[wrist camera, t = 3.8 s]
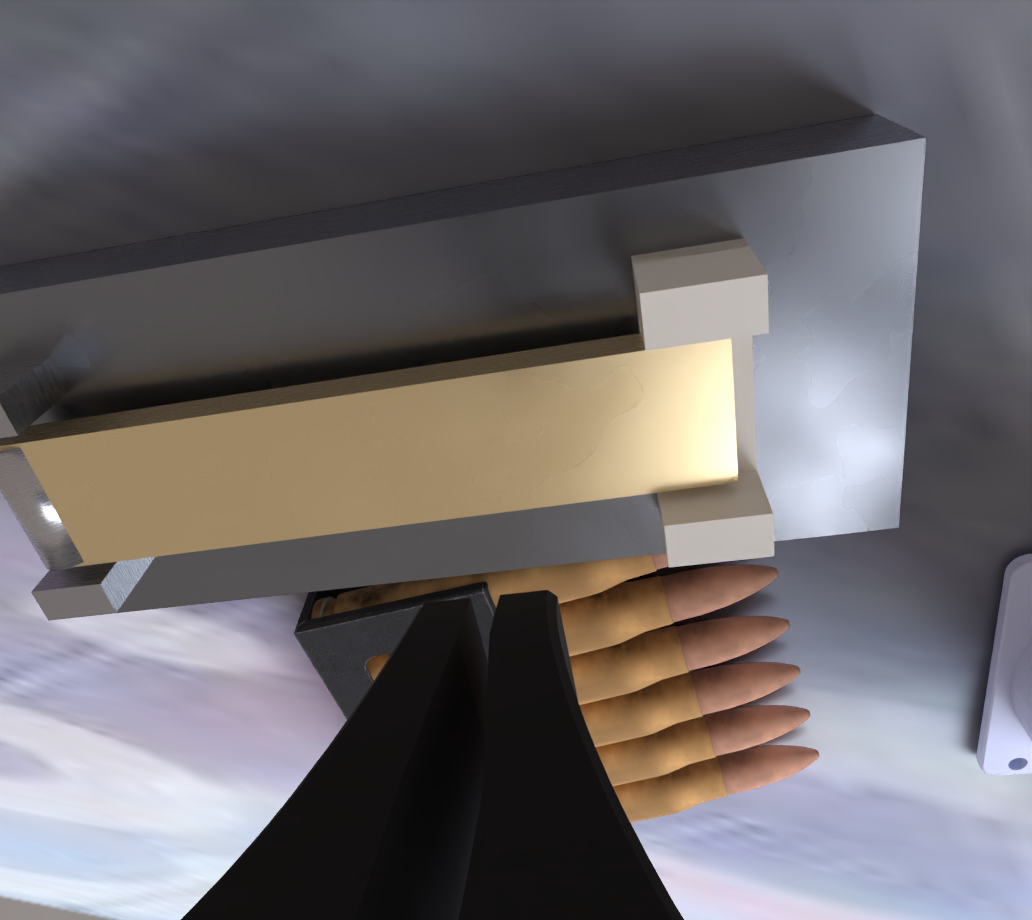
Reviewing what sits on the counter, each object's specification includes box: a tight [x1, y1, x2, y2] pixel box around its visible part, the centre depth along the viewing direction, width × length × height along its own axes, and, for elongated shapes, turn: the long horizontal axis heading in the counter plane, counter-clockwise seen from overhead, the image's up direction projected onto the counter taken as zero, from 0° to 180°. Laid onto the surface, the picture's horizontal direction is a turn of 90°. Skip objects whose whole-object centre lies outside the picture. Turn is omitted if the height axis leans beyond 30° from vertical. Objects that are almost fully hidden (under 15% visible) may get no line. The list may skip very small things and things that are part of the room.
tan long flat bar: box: [0, 333, 738, 571], centre depth 16 cm, size 15×3×1 cm, turn 100°
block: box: [0, 114, 926, 620], centre depth 17 cm, size 19×8×4 cm, turn 100°
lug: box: [631, 238, 774, 567], centre depth 15 cm, size 2×6×2 cm, turn 10°
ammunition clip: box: [294, 553, 819, 823], centre depth 23 cm, size 11×2×12 cm
